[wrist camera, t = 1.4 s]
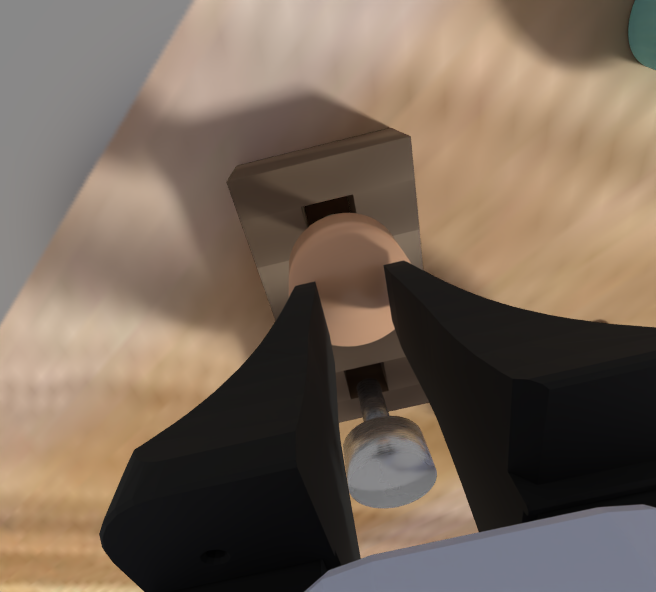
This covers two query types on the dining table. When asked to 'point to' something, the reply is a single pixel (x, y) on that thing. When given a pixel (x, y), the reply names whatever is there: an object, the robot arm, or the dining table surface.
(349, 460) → the grey plunger
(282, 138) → the dining table surface
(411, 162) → the brown piece
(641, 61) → the cupcake
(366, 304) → the terracotta plunger
